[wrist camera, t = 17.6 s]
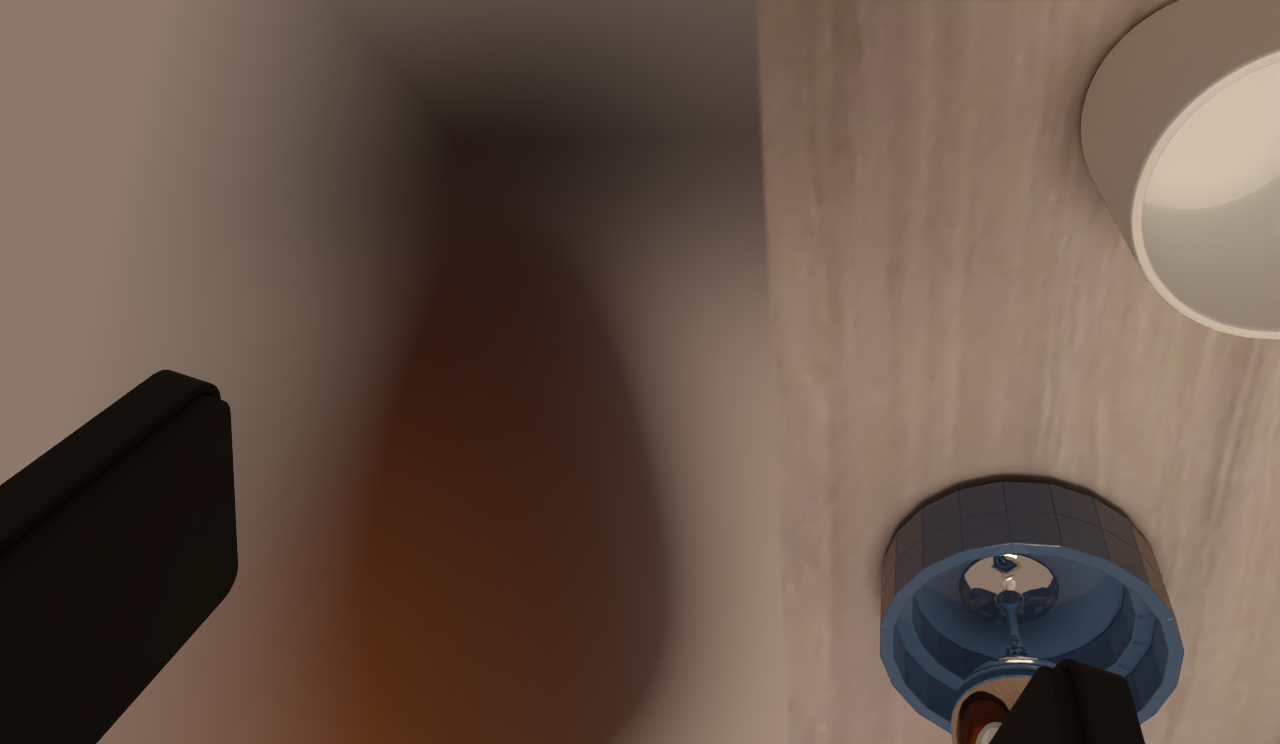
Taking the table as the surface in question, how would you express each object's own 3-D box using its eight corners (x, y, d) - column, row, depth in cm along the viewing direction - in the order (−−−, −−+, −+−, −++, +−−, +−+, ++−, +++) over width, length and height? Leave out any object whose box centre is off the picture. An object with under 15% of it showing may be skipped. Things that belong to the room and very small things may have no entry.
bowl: (851, 624, 49) (845, 699, 44) (934, 440, 42) (936, 506, 38) (1085, 701, 47) (1102, 785, 43) (1207, 523, 41) (1242, 601, 37)
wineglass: (1100, 602, 44) (1157, 832, 33) (993, 650, 46) (1016, 875, 36) (1023, 521, 42) (1059, 733, 32) (919, 575, 45) (922, 785, 35)
